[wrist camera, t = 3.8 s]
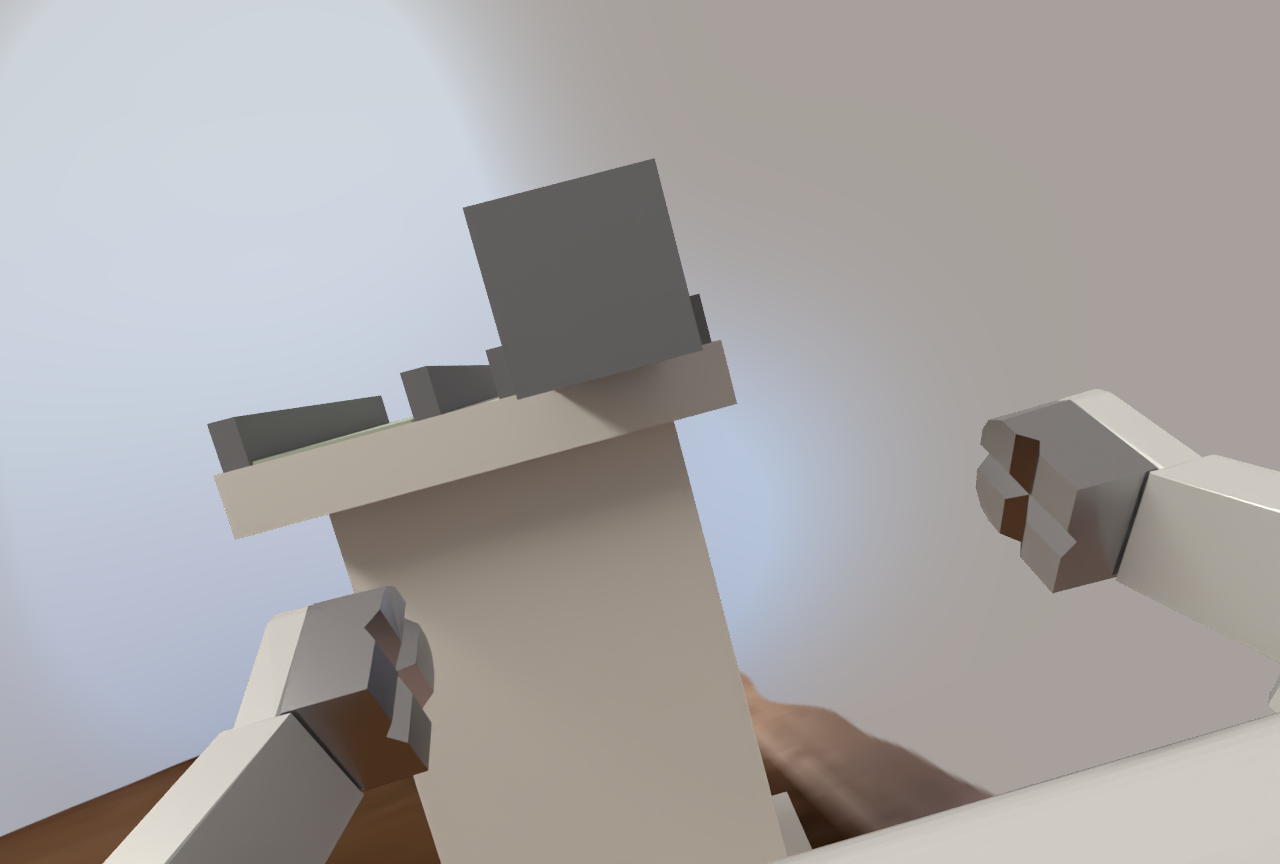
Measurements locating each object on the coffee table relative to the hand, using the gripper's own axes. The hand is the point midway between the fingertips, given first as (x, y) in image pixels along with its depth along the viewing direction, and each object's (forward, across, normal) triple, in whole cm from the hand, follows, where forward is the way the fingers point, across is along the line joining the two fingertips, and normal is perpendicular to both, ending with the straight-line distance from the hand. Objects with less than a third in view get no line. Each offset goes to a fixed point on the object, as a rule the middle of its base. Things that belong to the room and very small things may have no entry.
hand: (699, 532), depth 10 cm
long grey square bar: (+13, 0, -5) cm, 14 cm away
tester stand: (+4, -5, -30) cm, 31 cm away
